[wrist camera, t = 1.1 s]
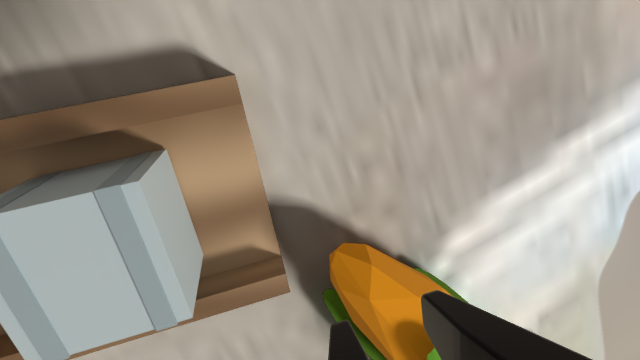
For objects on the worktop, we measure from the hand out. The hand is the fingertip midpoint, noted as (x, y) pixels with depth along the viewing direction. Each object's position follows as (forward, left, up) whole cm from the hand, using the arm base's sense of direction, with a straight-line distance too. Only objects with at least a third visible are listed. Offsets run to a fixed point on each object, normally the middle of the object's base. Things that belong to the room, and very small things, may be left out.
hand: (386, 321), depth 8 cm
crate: (0, +9, -11) cm, 14 cm away
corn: (-12, -6, -12) cm, 18 cm away
